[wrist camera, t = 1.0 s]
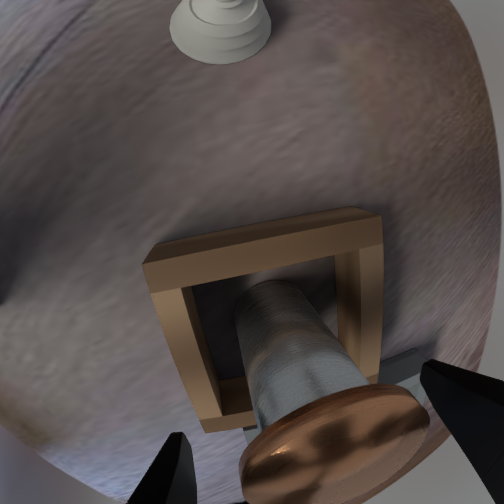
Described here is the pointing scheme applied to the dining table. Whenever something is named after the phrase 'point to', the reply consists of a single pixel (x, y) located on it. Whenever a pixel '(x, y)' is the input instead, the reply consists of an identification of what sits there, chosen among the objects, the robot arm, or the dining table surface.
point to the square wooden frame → (255, 260)
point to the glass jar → (315, 407)
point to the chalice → (220, 29)
